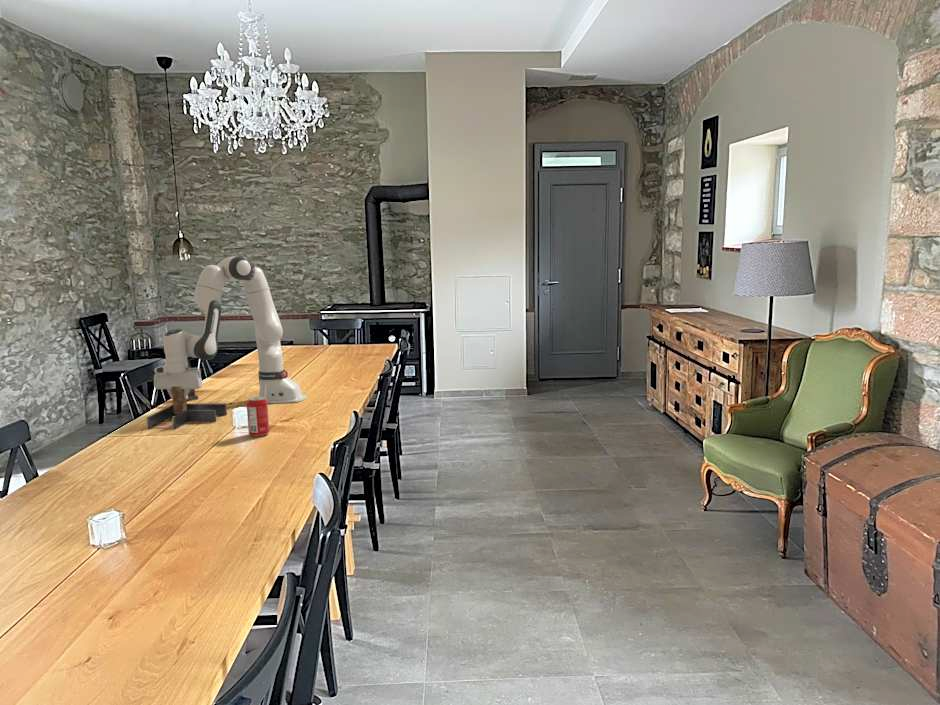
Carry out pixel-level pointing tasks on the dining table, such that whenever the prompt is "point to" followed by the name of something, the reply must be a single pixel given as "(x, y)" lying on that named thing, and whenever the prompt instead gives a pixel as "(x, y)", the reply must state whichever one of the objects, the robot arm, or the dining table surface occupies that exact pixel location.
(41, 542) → the dining table surface
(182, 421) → the channel
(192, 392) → the statue
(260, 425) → the soda can
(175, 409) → the walnut block
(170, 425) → the pad
